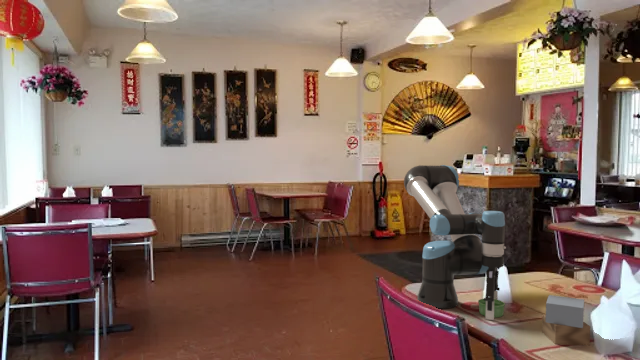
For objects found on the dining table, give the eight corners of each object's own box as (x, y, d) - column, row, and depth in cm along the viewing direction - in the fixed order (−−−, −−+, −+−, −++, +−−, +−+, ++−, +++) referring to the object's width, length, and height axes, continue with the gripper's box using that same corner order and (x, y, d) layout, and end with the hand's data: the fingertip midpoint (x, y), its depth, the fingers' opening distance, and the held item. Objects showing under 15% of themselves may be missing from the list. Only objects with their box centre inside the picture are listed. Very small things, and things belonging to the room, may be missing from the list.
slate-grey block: (545, 322, 148) (546, 302, 148) (548, 313, 157) (549, 294, 156) (582, 328, 143) (583, 308, 143) (583, 318, 152) (584, 299, 151)
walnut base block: (555, 345, 146) (555, 325, 145) (542, 333, 156) (542, 314, 155) (589, 346, 145) (590, 326, 145) (574, 333, 155) (574, 315, 155)
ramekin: (502, 319, 167) (502, 307, 167) (475, 315, 172) (475, 303, 172) (506, 312, 175) (506, 300, 175) (480, 308, 180) (481, 296, 179)
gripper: (501, 262, 159) (499, 326, 160) (506, 249, 182) (505, 305, 183) (477, 260, 162) (476, 322, 163) (485, 248, 185) (484, 302, 186)
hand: (491, 313), depth 173 cm, fingers open, 13 cm apart
